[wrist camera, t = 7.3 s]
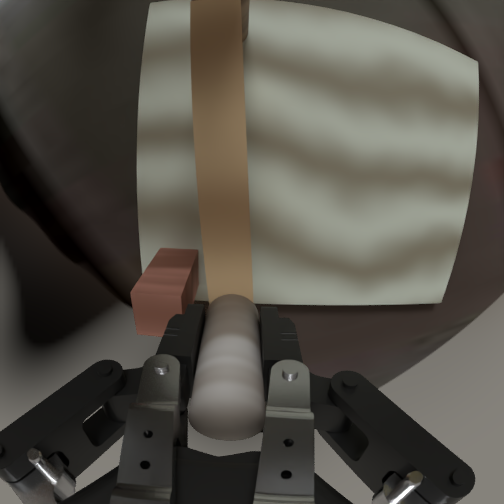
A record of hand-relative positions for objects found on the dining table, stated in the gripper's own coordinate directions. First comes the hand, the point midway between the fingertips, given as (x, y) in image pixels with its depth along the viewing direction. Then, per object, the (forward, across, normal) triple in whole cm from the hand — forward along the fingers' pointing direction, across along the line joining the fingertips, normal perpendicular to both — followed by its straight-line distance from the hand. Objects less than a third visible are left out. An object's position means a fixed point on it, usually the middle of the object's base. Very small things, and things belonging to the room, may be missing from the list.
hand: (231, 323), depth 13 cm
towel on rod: (+11, -6, -7) cm, 15 cm away
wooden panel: (+10, +1, -6) cm, 11 cm away
